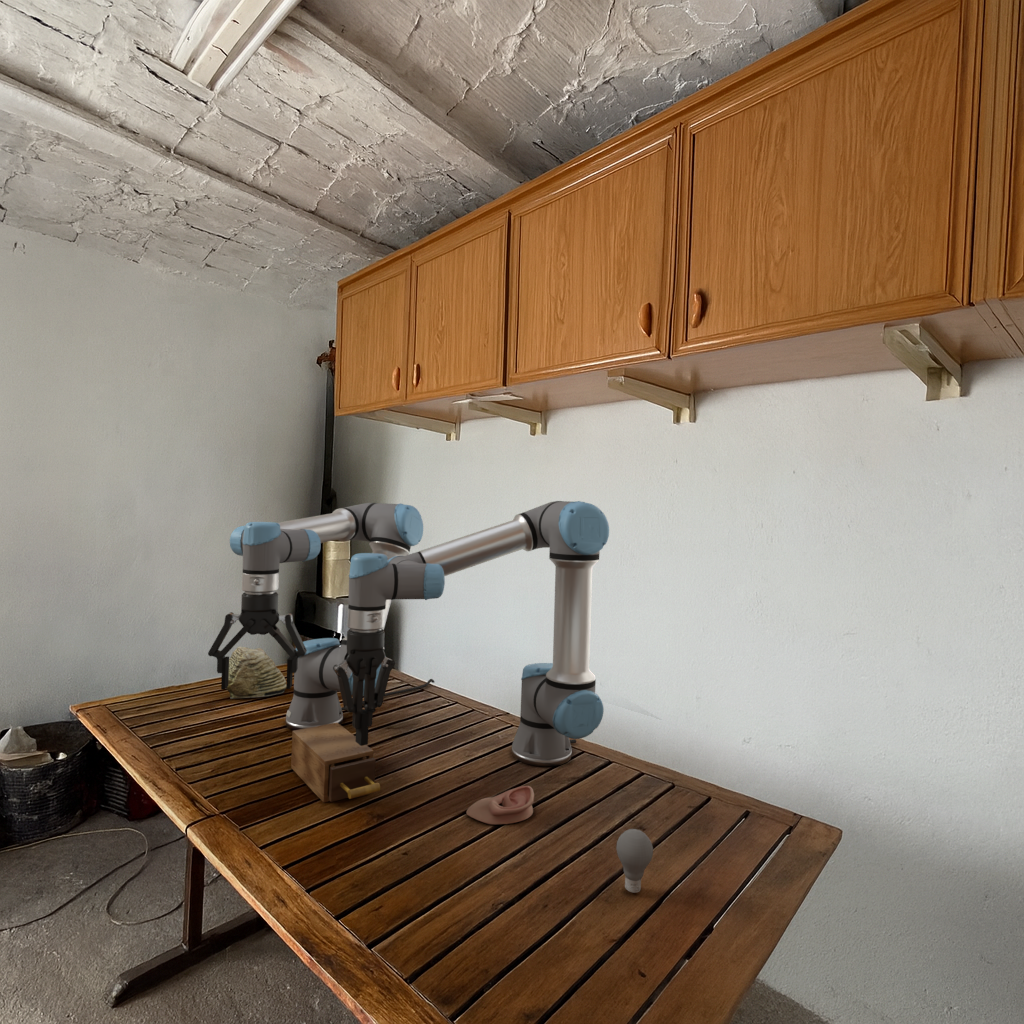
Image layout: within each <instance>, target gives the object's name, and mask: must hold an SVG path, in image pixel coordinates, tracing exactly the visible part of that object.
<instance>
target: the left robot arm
mask: <svg viewBox="0 0 1024 1024" xmlns="http://www.w3.org/2000/svg"><path fill="white" fill-rule="evenodd" d="M423 536H424V521H423V518H422V515H421V513H420V511H419V510H418V508H416V507H415V506H413V505H411V504H404V503H385V502H383V503H382V502H364V503H359V504H354V505H350V506H345V507H340V508H336V509H334V510H333V511H332V513H326V514H320V515H313V516H309V517H308V516H307V517H302V518H297V519H296V518H295V519H290V520H285V521H279V522H274V521H249V522H247V523H246V524H244V525H241V526H237V527H236V528H234V530H233V531H232V532H231V533H230V536H229V547H230V549H231V551H232V552H233V554H235V555H237V556H241V557H242V574H241V580H242V581H241V590H242V591H243V592H242V593H241V603H240V604H241V607H240V608H241V609H240V614H237V613H234V612H232V611H231V612H228V613H227V614H226V615H225V616H224V622H223V626H222V627H221V629H220V631H219V633H218V635H217V636H216V638H215V639H214V641H213V643H212V645H211V646H210V649H209V650H208V652H207V655H208V656H209V657H214V658H215V659H216V672H217V674H221V681H220V682H221V684H220V685H221V686H220V689H221V690H227V689H226V688H227V687H228V682H229V659H230V656H226V655H227V654H228V653H229V652H230V651H231V650H232V649H233V648H234V646H236V645H237V644H238V643H239V642H240V640H241V639H242V638H243V637H244V636H245V635H246V634H249V635H252V636H254V635H262V636H266V635H267V634H269V635H270V636H271V637H272V638H273V639H274V640H275V641H276V642H277V643H278V644H279V645H280V647H281V648H282V649H283V650H284V651H285V653H286V654H287V655H288V656H289V657H288V658H287V660H286V661H287V662H286V690H290V689H291V688H292V686H293V695H292V696H293V697H292V699H291V702H290V704H289V708H288V709H287V711H286V714H285V726H286V728H287V729H289V730H291V731H295V730H300V729H305V728H311V727H316V726H321V725H326V724H332V723H338V724H340V725H342V723H343V722H344V714H343V711H347V710H346V709H344V706H341V702H340V699H339V695H338V692H340V693H341V691H340V686H339V681H338V676H337V674H336V673H335V671H334V670H333V666H334V665H339V664H340V663H341V662H343V661H344V657H345V655H346V653H347V635H346V636H344V637H343V638H342V639H341V643H340V640H339V639H338V638H335V637H322V638H313V639H308V640H304V641H303V640H302V638H301V635H300V633H299V632H298V629H297V627H296V625H295V623H294V616H293V613H291V612H288V613H287V614H280V613H279V594H278V592H277V591H278V590H279V583H280V582H279V580H280V564H283V563H286V564H287V563H296V562H303V563H304V562H306V561H312V560H314V559H315V558H317V557H318V555H320V552H321V544H323V543H327V542H332V541H339V542H348V541H359V542H368V543H369V544H368V545H369V547H370V549H371V550H372V552H371V553H378V554H385V555H386V556H387V558H388V560H389V559H390V558H392V557H395V556H406V555H409V554H410V552H411V548H412V547H416V546H417V545H418V544H420V543H421V541H422V539H423ZM391 603H392V600H386V608H385V624H386V622H387V620H388V615H389V611H390V607H391ZM237 621H239V623H240V625H241V626H242V628H241V629H240V630H239V631H238V632H237V633H236V634H235V635H234V636H233V637H232V639H230V640H229V642H227V644H226V645H225V646H224V647H223V648H222V649H221V650H220V647H221V646H222V644H223V643H224V640H225V638H226V636H227V635H228V633H229V631H230V630H231V628H232V626H233V625H234V624H235V623H236V622H237ZM280 621H281V622H282V624H283V625H285V627H286V630H287V632H288V634H289V636H290V638H291V640H292V642H293V644H294V646H293V645H292V643H291V642H290V641H289V640H288V638H286V636H285V635H284V634H283V633H282V631H281V630H280V628H279V627H278V625H277V624H278V622H280ZM385 627H386V625H385V626H384V627H383V628H382V629H383V630H384V631H385ZM383 650H384V651H385V646H384V647H383ZM385 657H387V656H386V655H385ZM380 668H381V664H380V666H379V667H378V669H377V673H376V679H375V687H376V683H377V679H378V675H379V671H380ZM347 670H348V672H347V673H346V674H347V676H348V680H349V685H350V690H351V695H352V693H353V677H352V671H351V670H350V668H349V667H348V666H347ZM364 683H365V680H364V682H363V697H364ZM431 683H433V684H434V683H435V680H434V679H433V678H430V679H428V680H427V682H426V683H424V684H421V685H417V686H413V687H409V688H404V689H400V690H394V691H390V692H385V695H384V698H385V697H388V696H392V695H397V694H403V693H408V692H412V691H416V690H420V689H423V688H425V687H428V686H429V685H430V684H431ZM363 705H364V700H363Z"/></svg>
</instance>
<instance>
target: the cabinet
mask: <svg viewBox="0 0 1024 1024" xmlns="http://www.w3.org/2000/svg"><path fill="white" fill-rule="evenodd" d="M291 732H292V733H291V736H292V737H291V757H290V759H291V761H290V769H292V770H293V772H294V773H295V775H297V776H298V777H299V778H300V779H301V780H302V781H303V782H304V783H305V785H307V786H308V788H309V789H310V790H311V791H312V792H313V793H314V794H315V795H316V796H317V798H318V799H320V801H321V802H322V803H327V802H331V801H330V800H329V792H328V780H329V765H330V764H335V763H339V762H344V761H348V760H352V759H357V758H361V757H365V756H366V757H367V759H369V758H374V750H373V749H372V748H371V747H369V746H368V745H363V746H360V745H359V744H358V743H357V742H355V741H356V735H354V734H353V733H352V732H350V731H349V730H348V729H346V728H345V727H344V726H343V725H342V724H338V723H332V724H326V725H321V726H316V727H311V728H305V729H300V730H291Z"/></svg>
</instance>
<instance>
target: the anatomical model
mask: <svg viewBox="0 0 1024 1024" xmlns="http://www.w3.org/2000/svg"><path fill="white" fill-rule="evenodd" d="M534 801H535V793H534V789H533V788H532V786H530V785H521V786H517V787H515V788H512V789H511V788H510V789H508V790H506V791H504V792H502V793H500V794H498V795H495V796H491V797H485V798H482V799H479V800H477V801H476V802H474V803H472V804H471V805H470V806H469V807H468V808H467V810H466V812H465V813H466V815H467V816H468V817H470V818H472V819H474V820H476V821H478V822H481V823H484V824H487V825H508V824H514V823H518V822H522V821H525V820H527V819H529V818H530V817H532V815H533V813H534V808H533V803H534Z"/></svg>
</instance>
